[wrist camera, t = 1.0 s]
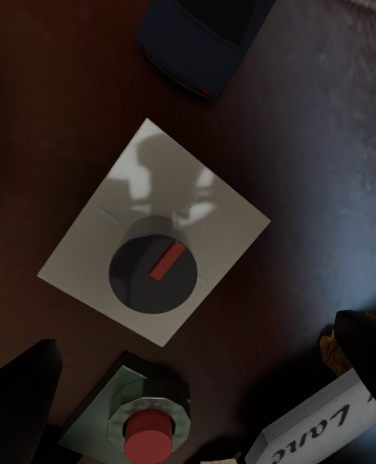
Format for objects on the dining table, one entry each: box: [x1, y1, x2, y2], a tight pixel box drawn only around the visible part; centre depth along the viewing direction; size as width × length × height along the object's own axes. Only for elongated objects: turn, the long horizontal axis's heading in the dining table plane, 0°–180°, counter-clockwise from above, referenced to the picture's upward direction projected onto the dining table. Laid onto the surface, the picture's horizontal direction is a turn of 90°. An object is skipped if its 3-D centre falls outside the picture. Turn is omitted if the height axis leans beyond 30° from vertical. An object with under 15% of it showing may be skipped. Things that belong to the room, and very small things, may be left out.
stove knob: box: [109, 215, 198, 314], centre depth 14 cm, size 4×4×4 cm
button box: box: [57, 351, 191, 464], centre depth 22 cm, size 11×8×4 cm
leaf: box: [319, 312, 376, 377], centre depth 23 cm, size 6×7×2 cm
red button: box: [124, 409, 173, 464], centre depth 20 cm, size 4×4×2 cm
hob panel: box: [37, 118, 271, 347], centre depth 18 cm, size 12×10×3 cm
